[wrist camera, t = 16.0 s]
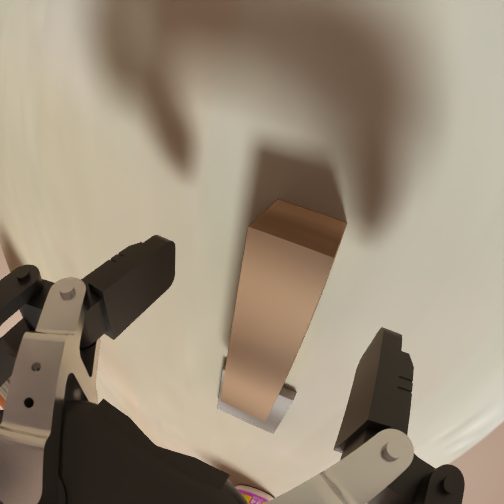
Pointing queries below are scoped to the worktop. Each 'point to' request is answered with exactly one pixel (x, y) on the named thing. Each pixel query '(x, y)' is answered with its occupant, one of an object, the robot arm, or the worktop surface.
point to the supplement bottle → (253, 495)
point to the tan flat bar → (275, 308)
